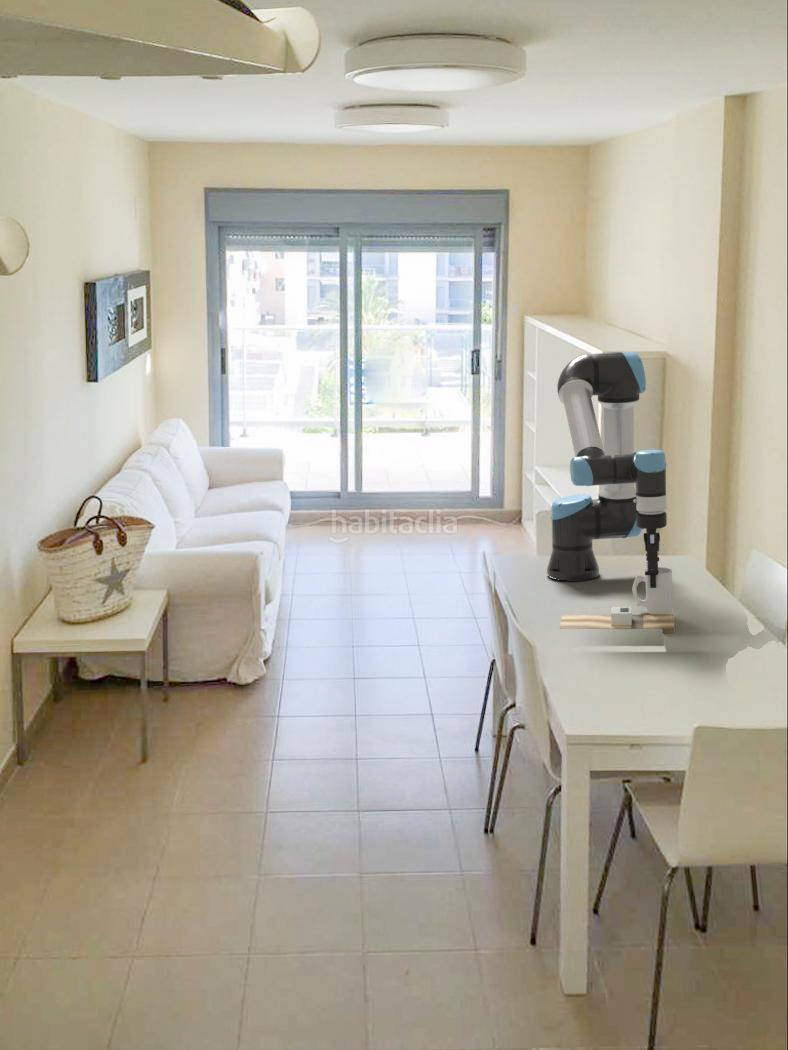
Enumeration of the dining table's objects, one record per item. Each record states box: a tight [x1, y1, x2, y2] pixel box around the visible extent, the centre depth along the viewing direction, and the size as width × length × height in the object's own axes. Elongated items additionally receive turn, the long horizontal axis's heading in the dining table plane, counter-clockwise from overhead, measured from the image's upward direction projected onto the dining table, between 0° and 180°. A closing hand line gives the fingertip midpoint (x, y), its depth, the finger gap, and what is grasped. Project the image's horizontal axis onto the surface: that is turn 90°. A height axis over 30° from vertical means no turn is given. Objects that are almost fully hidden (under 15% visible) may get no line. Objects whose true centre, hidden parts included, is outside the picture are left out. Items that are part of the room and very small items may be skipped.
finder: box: [610, 606, 633, 625], centre depth 314 cm, size 6×5×3 cm
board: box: [559, 614, 676, 634], centre depth 314 cm, size 12×28×1 cm, turn 80°
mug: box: [631, 566, 673, 615], centre depth 320 cm, size 10×7×12 cm, turn 84°
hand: (652, 593), depth 320 cm, fingers open, 13 cm apart
